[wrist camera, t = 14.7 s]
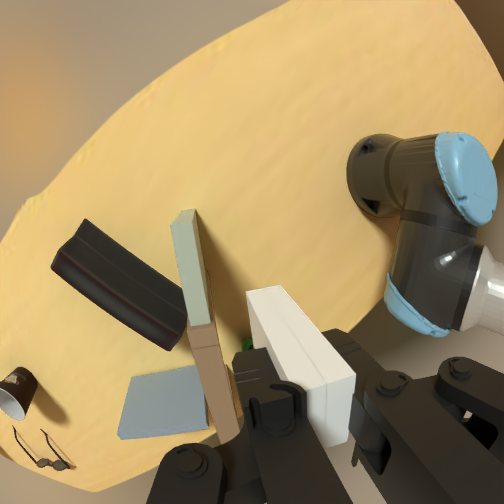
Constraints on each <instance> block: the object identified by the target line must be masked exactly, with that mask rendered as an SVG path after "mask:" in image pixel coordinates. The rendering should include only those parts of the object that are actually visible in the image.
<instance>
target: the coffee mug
mask: <svg viewBox="0 0 504 504" xmlns="http://www.w3.org/2000/svg"><path fill="white" fill-rule="evenodd" d="M36 389H37V381H36V379H35V377H34V376H33V374H32V373H31V372H30V371H28V370H27V369H25V368H23V367H17V368H16V369H15V370H14V371H13V372H12V373H11V374H9V375H8V376H7V377H6V378H5V379H4V380H3V381H1V382H0V408H1V409H2V410H3V411H4V412H5V413H6V414H7V415H8V416H10V417H11V418H13V419H16V420H20V421H21V420H24V418H25V416H26V413H27V411H28V408H29V406H30V403H31V401H32V398H33V396H34V393H35V391H36Z"/></svg>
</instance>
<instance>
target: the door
mask: <svg viewBox="0 0 504 504" xmlns="http://www.w3.org/2000/svg"><path fill="white" fill-rule="evenodd" d="M203 429H209V421H208V411H207V400H206V397H205V394H204V391H203V387H202V384H201V381H200V377H199V374H198V370H197V367H196V365H193V366H188V367H183V368H179V369H174V370H169V371H164V372H159V373H153V374H148V375H142V376H136V377H131V381H130V384H129V388H128V392H127V395H126V399H125V403H124V407H123V411H122V415H121V419H120V423H119V427H118V432H117V435H118V436H119V437H120V439H121V440H125V439H138V438H149V437H158V436H166V435H173V434H180V433H186V432H192V431H198V430H203Z"/></svg>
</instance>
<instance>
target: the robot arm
mask: <svg viewBox="0 0 504 504" xmlns="http://www.w3.org/2000/svg"><path fill="white" fill-rule="evenodd" d="M347 182H348V186H349V190H350V192H351V195H352V197H353V198H354V200H355V202H356V203H357V204H358V205H359V207H360V208H361V209H363V210H364V211H365V212H367V213H368V214H371V215H373V216H378V217H383V218H391V217H395V216H398V215H401V219H400V223H399V229H398V234H397V239H396V244H395V248H394V253H393V257H392V261H391V265H390V269H389V271H388V273H387V284H386V288H385V292H384V302H385V305H386V307H387V308H388V310H389V312H390V313H391V314H392V315H393V316H394V317H395V318H396V319H397V320H399V321H400V322H401V323H403V324H404V325H406V326H408V327H409V328H411V329H413V330H415V331H417V332H419V333H422V334H424V335H431V336H433V337H438V338H439V337H445V336H447V335H448V334H449V333H450V332H451V331H452V329H455V330H457V331H459V332H463V331H465V330H467V329H469V328H471V327H472V326H479V327H482V328H485V329H487V330H490V331H492V332H495V333H498V334H500V335H503V336H504V264H502V263H499V262H496V261H495V260H494V259H493V258H492V256H491V254H490V252H489V250H488V248H487V246H484V245H480V244H477V243H475V238H476V234H477V228H478V226H481V225H484V224H486V223H487V222H489V221H490V220H491V218H492V214H493V213H494V212H495V209H496V204H497V180H496V175H495V171H494V168H493V164H492V162H491V160H490V157H489V155H488V153H487V151H486V150H485V148H484V147H483V145H482V144H481V143H480V142H479V141H478V140H477V139H476V138H475V137H473V136H472V135H470V134H467V133H462V132H459V133H449V132H441V133H440V134H434V135H427V136H421V137H415V138H409V139H401V138H398V137H395V136H392V135H388V134H375V135H371V136H367V137H365V138H363V139H361V140H360V141H359V142H358V143H357V144H356V145H355V146H354V148H353V149H352V151H351V153H350V155H349V158H348V162H347ZM246 298H247V305H248V311H249V318H250V325H251V332H252V338H253V345H254V348H255V349H253V350H248V351H243V352H238V353H236V354H235V356H234V359H233V361H232V367H233V372H234V376H235V381H236V386H237V390H238V395H239V399H240V403H241V407H242V412H243V416H244V425H243V428H242V430H241V431H240V432H239V434H238V435H236V436H235V437H234V438H233V439H231V440H230V441H228V442H226V443H224V444H222V445H219V446H217V447H214V448H211V447H210V446H208V445H204V444H199V443H188V444H183V445H180V446H177V447H174V448H173V449H172V450H170V451H169V452H168V453H166V454H165V456H164V457H163V459H162V461H161V462H160V465H159V468H158V471H157V474H156V477H155V479H154V482H153V485H152V488H151V491H150V494H149V496H148V499H147V502H146V504H264V503H266V502H267V504H353V502H352V500H351V499H350V497H349V495H348V493H347V492H346V490H345V488H344V486H343V484H342V482H341V481H340V479H339V477H338V475H337V473H336V471H335V469H334V467H333V466H332V464H331V462H330V460H329V458H328V456H327V454H326V452H325V451H324V449H327V448H330V447H333V446H336V445H339V444H341V443H344V442H347V439H348V434H349V431H350V432H351V434H352V435H353V437H354V438H355V440H356V443H355V448H354V452H353V456H352V461H351V462H352V466H353V467H355V466H356V465H357V462H358V458H359V460H360V461H361V463H362V464H363V466H364V468H365V469H366V471H367V473H368V474H369V476H370V477H371V479H372V480H373V482H374V484H375V485H376V487H377V488H378V490H379V492H380V493H381V495H382V496H383V498H384V499H385V501H386V503H387V504H504V374H503V373H501V372H498V371H496V370H494V369H492V368H489V367H487V366H484V365H483V364H480V363H478V362H476V361H474V360H471V359H469V358H465V357H453V358H448V359H447V360H445V361H443V362H442V364H441V365H440V367H439V370H438V374H437V375H435V376H430V377H426V378H421V379H414V380H413V379H412V378H411V377H410V376H408V375H406V374H405V373H402V372H399V371H385V370H384V369H383V368H382V367H381V366H380V365H379V364H378V363H377V362H376V361H375V360H374V359H373V358H372V357H371V356H370V355H369V354H368V353H367V352H366V351H365V350H364V349H362V347H361V346H360V345H359V344H358V343H356V341H355V340H354V339H353V338H352V337H351V336H350V335H349V334H348V333H346V332H343V331H341V330H339V329H332V330H328V331H325V332H320V331H319V330H318V329H317V328H316V326H315V325H314V324H313V323H312V322H311V321H310V319H309V318H308V317H307V316H306V315H305V314H304V312H303V311H302V310H301V309H300V308H299V307H298V305H297V304H296V303H295V302H294V301H293V299H292V298H291V297H290V296H289V295H288V294H287V292H286V291H285V290H284V289H283V288H282V287H281V285H277V286H272V287H266V288H261V289H256V290H251V291H246ZM466 411H469V412H471V413H473V414H472V416H471V417H470V418H463V417H464V415H465V413H466Z"/></svg>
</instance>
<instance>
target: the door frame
mask: <svg viewBox="0 0 504 504" xmlns="http://www.w3.org/2000/svg"><path fill="white" fill-rule="evenodd" d="M170 227H171V233H172V239H173V244H174V250H175V255H176V260H177V266H178V271H179V275H180V280H181V285H182V290H183V294H184V299H185V303H186V308H187V312H188V317H187V335H188V339H189V342H190V346H191V349H192V353H193V356H194V360H195V363H196V367H197V370H198V374H199V377H200V381H201V384H202V387H203V391H204V394H205V397H206V400H207V403H208V407H209V410H210V413H211V416H212V419H213V422H214V425H215V428H216V431H217V433H218V436H219V439H220V442H221V445H222V444H224V443H226V442H228V441H230V440H231V439H233V438H234V437H235V436H236V435H238V434H239V432H240V427H239V422H238V418H237V413H236V408H235V404H234V399H233V394H232V389H231V385H230V380H229V375H228V370H227V365H226V364H225V365H224V362H223V357H222V353H221V348H220V343H219V339H218V334H217V328H216V322H215V315H214V308H213V301H212V294H211V287H210V280H209V275H208V271H207V272H205V267H204V261H203V255H202V250H201V244H200V237H199V231H198V225H197V219H196V212H195V209H190V210H184V211H181V213H180V214H179V215H178V216H177V218H176V219H175V220H174V221H173V223H172V224H171V225H170Z"/></svg>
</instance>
